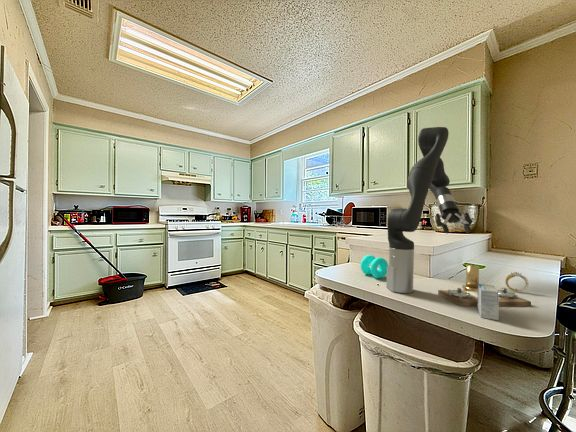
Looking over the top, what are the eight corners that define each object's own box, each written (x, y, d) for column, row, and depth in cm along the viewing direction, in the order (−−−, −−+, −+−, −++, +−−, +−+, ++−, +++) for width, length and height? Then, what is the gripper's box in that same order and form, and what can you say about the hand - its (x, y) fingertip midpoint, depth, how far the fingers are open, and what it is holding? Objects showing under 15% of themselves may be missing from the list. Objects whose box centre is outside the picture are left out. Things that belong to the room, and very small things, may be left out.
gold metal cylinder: (469, 292, 100) (470, 267, 99) (458, 287, 106) (459, 264, 106) (485, 292, 100) (486, 267, 100) (473, 287, 106) (474, 264, 106)
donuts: (374, 273, 129) (374, 253, 129) (389, 277, 120) (389, 257, 120) (359, 274, 125) (359, 255, 125) (373, 280, 116) (373, 258, 116)
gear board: (460, 306, 85) (460, 300, 85) (438, 294, 97) (438, 289, 97) (530, 305, 86) (531, 300, 86) (500, 294, 98) (500, 289, 98)
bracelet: (505, 291, 102) (506, 271, 102) (504, 289, 105) (505, 270, 104) (529, 294, 98) (529, 274, 98) (527, 292, 101) (527, 272, 101)
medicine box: (498, 321, 74) (499, 292, 74) (479, 317, 76) (480, 289, 76) (494, 312, 81) (495, 285, 80) (477, 309, 83) (477, 283, 83)
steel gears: (456, 298, 88) (456, 291, 88) (443, 292, 95) (443, 285, 95) (522, 298, 89) (522, 291, 89) (505, 292, 95) (505, 285, 95)
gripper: (433, 200, 121) (443, 227, 111) (466, 199, 119) (479, 227, 109) (429, 210, 127) (438, 237, 117) (460, 209, 125) (472, 236, 115)
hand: (458, 232), depth 113 cm, fingers open, 8 cm apart
